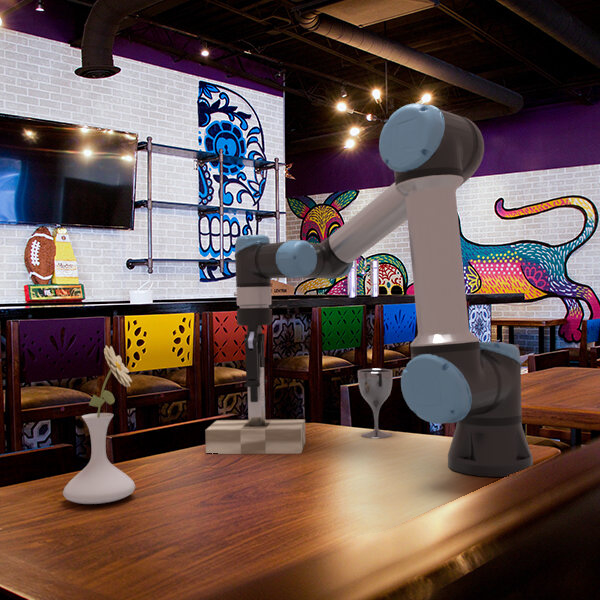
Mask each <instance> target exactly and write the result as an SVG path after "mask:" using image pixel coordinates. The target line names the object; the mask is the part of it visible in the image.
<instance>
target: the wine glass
mask: <svg viewBox="0 0 600 600" xmlns="http://www.w3.org/2000/svg"><path fill="white" fill-rule="evenodd" d="M357 379H358V381H357V383H358V388H359V392H360V394H361V397H363V399H364V400H365V401H366V402H367V403H368V405H369V407H370V408H371V410H372V412H373V413H372V415H373V420H374V429H373V430H372V431H369V432H368V431H367V432H364V433H361V434H360V435H361V437H363V438H367V437H368V439H384V438H385V439H386V438H391V437H392V436H393V434H392V433H390V432H385V431H381V430H380V429H379V415H380V414H379V413H380V409H381V407H382V405H383V404H384V402H386V400H387V399H388V397H390V395H391V391H392V387H393V370H392V369H387V368H365V369H359V370H357Z"/></svg>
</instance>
